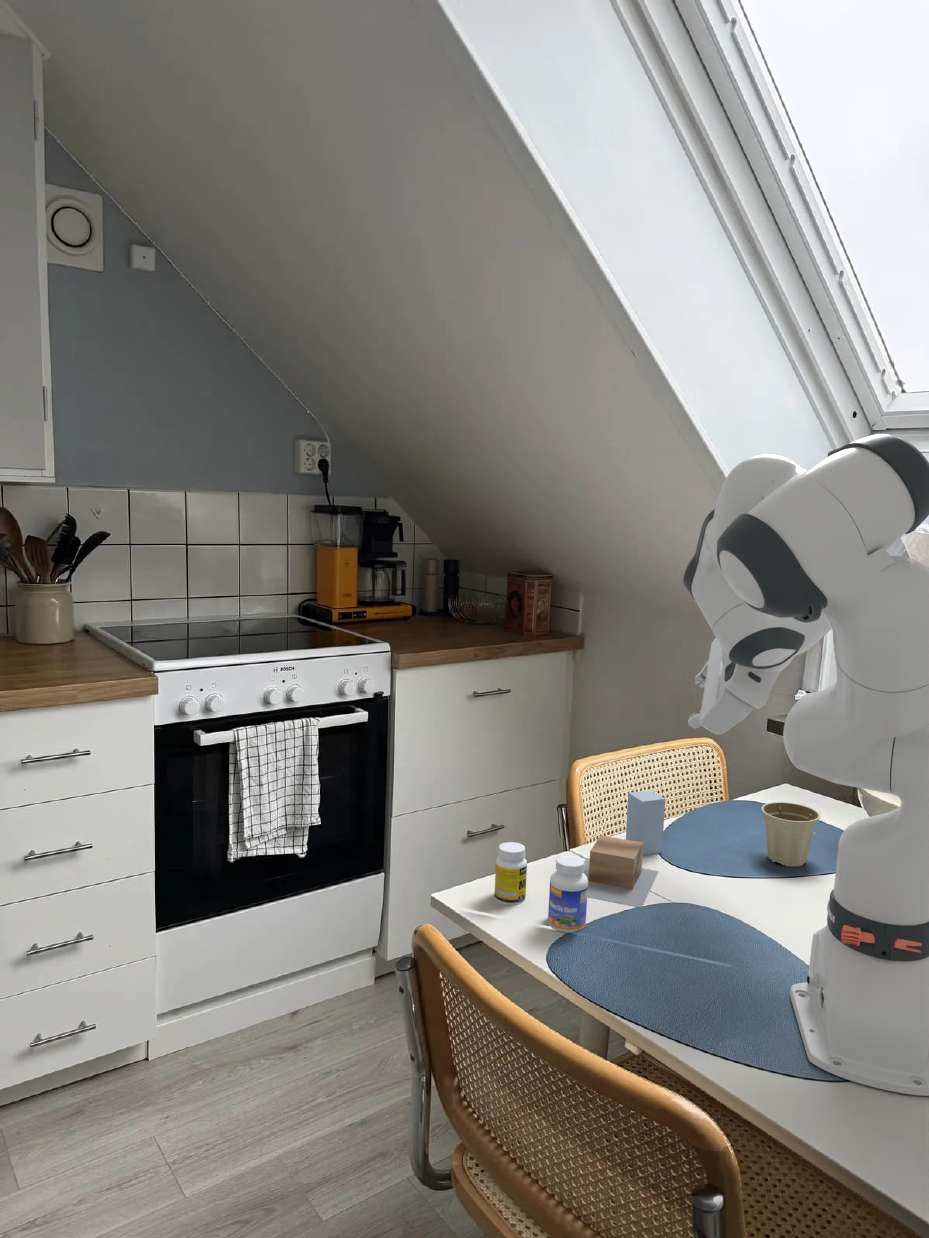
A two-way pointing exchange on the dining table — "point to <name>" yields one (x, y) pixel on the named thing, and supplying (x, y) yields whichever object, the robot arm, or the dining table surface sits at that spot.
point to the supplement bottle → (510, 874)
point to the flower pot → (789, 831)
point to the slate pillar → (646, 820)
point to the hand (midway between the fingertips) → (695, 702)
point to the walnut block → (616, 862)
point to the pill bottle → (568, 895)
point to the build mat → (622, 889)
